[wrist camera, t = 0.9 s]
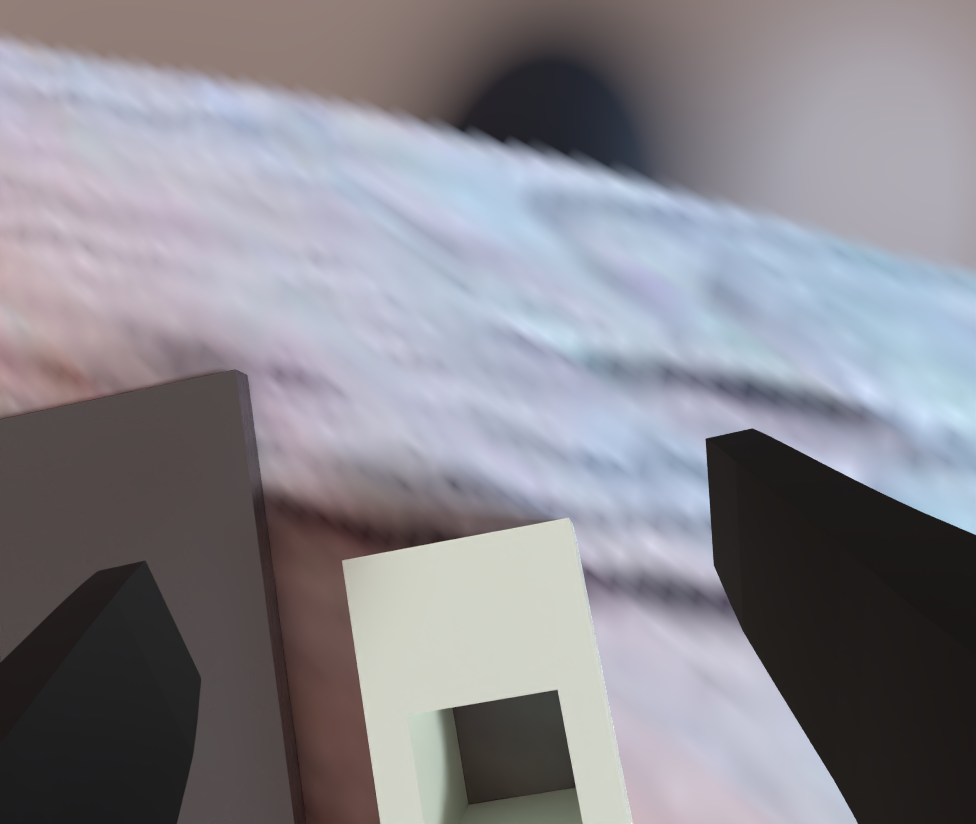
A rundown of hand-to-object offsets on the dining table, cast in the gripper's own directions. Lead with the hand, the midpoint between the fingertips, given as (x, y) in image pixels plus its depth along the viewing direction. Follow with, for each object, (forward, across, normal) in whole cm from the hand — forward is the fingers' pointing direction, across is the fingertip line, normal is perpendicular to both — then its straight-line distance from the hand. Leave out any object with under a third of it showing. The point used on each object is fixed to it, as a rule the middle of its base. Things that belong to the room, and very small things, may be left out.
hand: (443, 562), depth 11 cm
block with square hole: (+7, 0, +11) cm, 13 cm away
